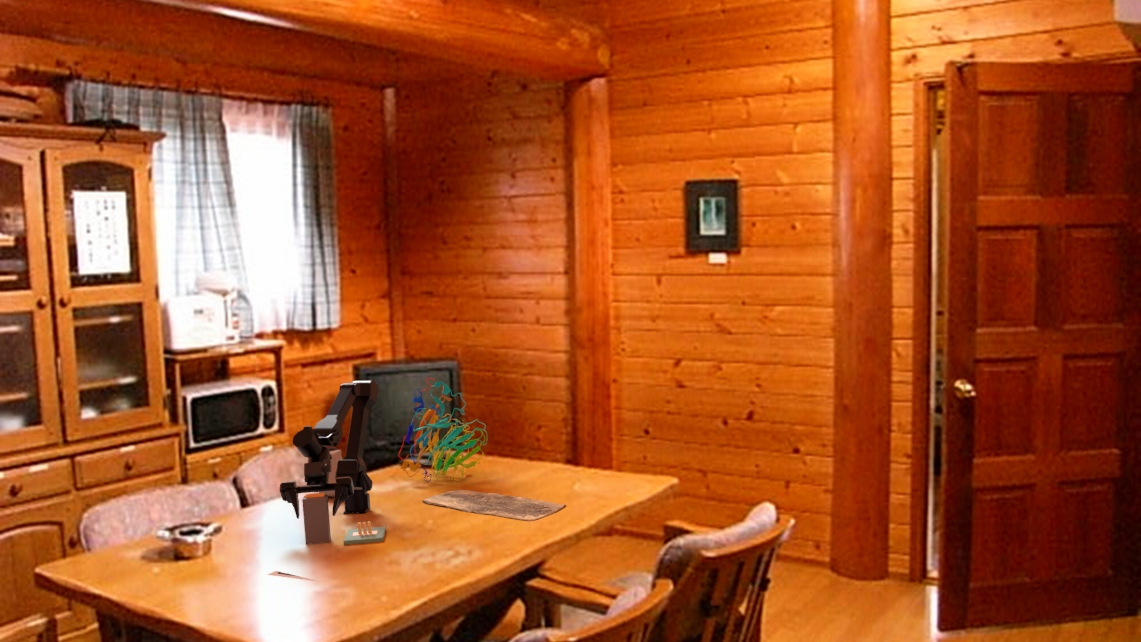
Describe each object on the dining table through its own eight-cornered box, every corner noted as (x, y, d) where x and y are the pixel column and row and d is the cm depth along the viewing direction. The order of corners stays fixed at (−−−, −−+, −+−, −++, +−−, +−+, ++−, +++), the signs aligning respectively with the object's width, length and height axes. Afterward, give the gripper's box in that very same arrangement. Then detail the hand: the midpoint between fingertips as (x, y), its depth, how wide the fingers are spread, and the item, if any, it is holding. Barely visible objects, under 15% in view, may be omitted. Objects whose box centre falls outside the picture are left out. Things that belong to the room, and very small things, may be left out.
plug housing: (307, 540, 266) (304, 493, 265) (330, 538, 266) (327, 491, 266) (305, 544, 262) (302, 496, 262) (329, 542, 263) (325, 494, 262)
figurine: (352, 493, 317) (349, 446, 315) (329, 501, 308) (325, 453, 307) (333, 491, 321) (329, 445, 320) (309, 499, 313) (305, 451, 312)
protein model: (514, 398, 338) (443, 362, 320) (499, 490, 323) (423, 459, 305) (457, 416, 358) (387, 383, 341) (440, 504, 343) (366, 475, 325)
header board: (348, 533, 271) (347, 518, 271) (385, 529, 272) (384, 515, 272) (343, 544, 260) (342, 529, 260) (382, 541, 261) (381, 526, 261)
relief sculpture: (529, 522, 271) (529, 520, 271) (416, 502, 300) (416, 499, 300) (573, 507, 286) (573, 504, 286) (461, 488, 315) (461, 486, 315)
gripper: (277, 452, 266) (273, 503, 256) (349, 446, 268) (347, 497, 258) (285, 475, 274) (281, 525, 264) (354, 469, 276) (353, 519, 266)
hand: (315, 516), depth 263 cm, fingers open, 9 cm apart
